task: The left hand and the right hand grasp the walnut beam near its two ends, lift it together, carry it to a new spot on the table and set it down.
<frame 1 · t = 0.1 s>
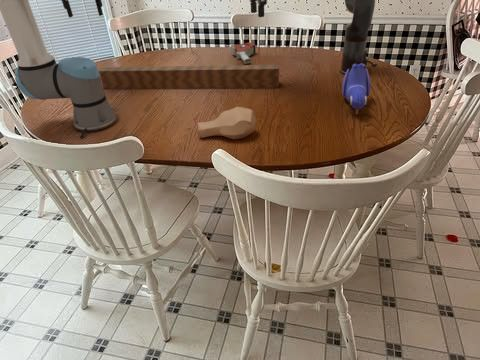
left hand: (86, 16, 157), 28 cm above the table, tool pointing down, fingers open, 13 cm apart
right hand: (257, 14, 136), 29 cm above the table, tool pointing down, fingers open, 8 cm apart
toy: (354, 106, 133), on the table
beam: (189, 86, 158), on the table
squash: (227, 135, 120), on the table
tape dispenser: (243, 57, 187), on the table
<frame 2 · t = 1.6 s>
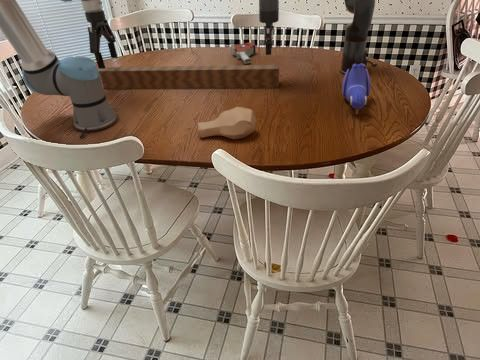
left hand: (108, 62, 156), 11 cm above the table, tool pointing down, fingers open, 13 cm apart
right hand: (269, 51, 145), 15 cm above the table, tool pointing down, fingers open, 8 cm apart
nothing on the table moved.
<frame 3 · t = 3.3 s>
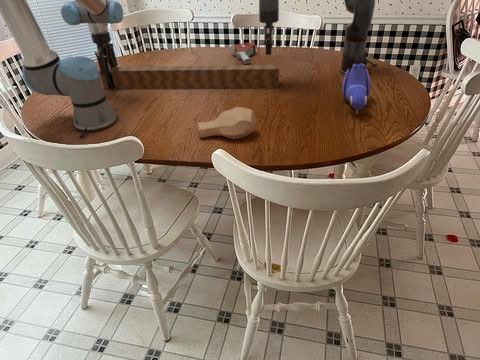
left hand: (114, 85, 162), 1 cm above the table, tool pointing down, fingers closed on beam, 5 cm apart
right hand: (269, 51, 145), 15 cm above the table, tool pointing down, fingers open, 8 cm apart
beam: (189, 86, 158), on the table, touching left hand
everything else where it was.
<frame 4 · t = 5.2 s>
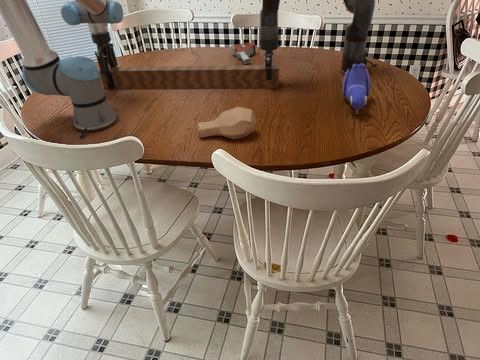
left hand: (114, 85, 162), 1 cm above the table, tool pointing down, fingers closed on beam, 5 cm apart
right hand: (269, 77, 152), 4 cm above the table, tool pointing down, fingers closed on beam, 5 cm apart
beam: (189, 86, 158), on the table, touching left hand, right hand
everything else where it was.
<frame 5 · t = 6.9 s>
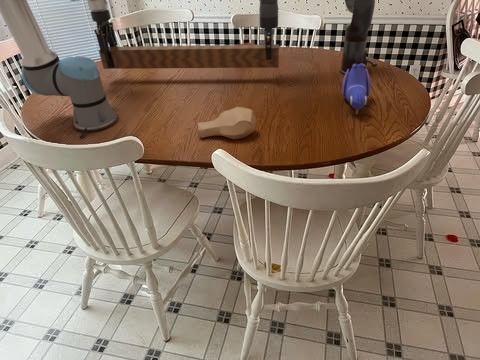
left hand: (113, 65, 162), 8 cm above the table, tool pointing down, fingers closed on beam, 5 cm apart
right hand: (268, 57, 152), 11 cm above the table, tool pointing down, fingers closed on beam, 5 cm apart
beam: (189, 66, 158), point 7 cm above the table, touching left hand, right hand
everything else where it was.
when the left hand's fingers open (2 cm above the table, at t = 8.8 s): beam drops 1 cm, on the table.
when the right hand's fingers open (5 cm above the table, at t = 9.0 s): beam stays where it is, on the table.
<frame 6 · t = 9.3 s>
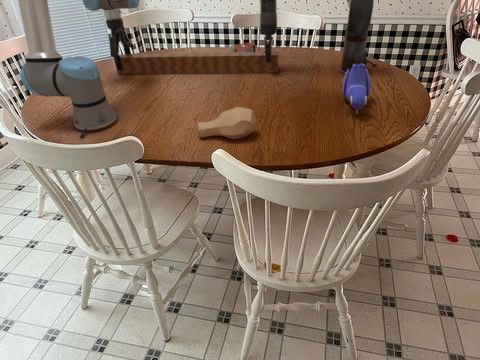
left hand: (125, 65, 175), 4 cm above the table, tool pointing down, fingers open, 12 cm apart
right hand: (268, 59, 165), 6 cm above the table, tool pointing down, fingers open, 7 cm apart
beam: (196, 71, 173), on the table
everything else where it was.
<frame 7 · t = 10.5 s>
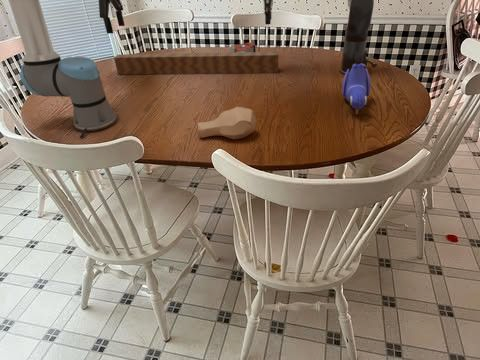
left hand: (116, 29, 165), 20 cm above the table, tool pointing down, fingers open, 13 cm apart
right hand: (268, 21, 156), 22 cm above the table, tool pointing down, fingers open, 8 cm apart
nothing on the table moved.
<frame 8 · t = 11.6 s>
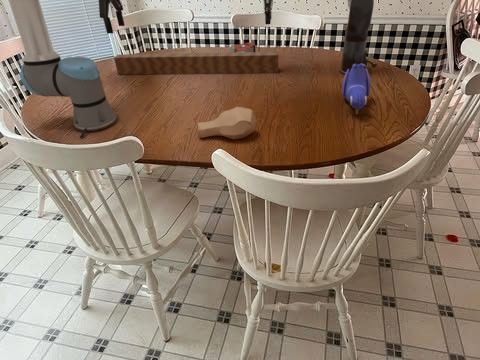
left hand: (116, 29, 165), 20 cm above the table, tool pointing down, fingers open, 13 cm apart
right hand: (268, 21, 156), 22 cm above the table, tool pointing down, fingers open, 8 cm apart
nothing on the table moved.
at the end: beam inside the target area (0.4 cm from its centre), on the table; beam tilted 0°; beam never tilted more than 1° during the clip; both hands held the beam at the same time; the left hand is holding nothing; the right hand is holding nothing; beam at rest at the end (0.0 cm/s) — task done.
